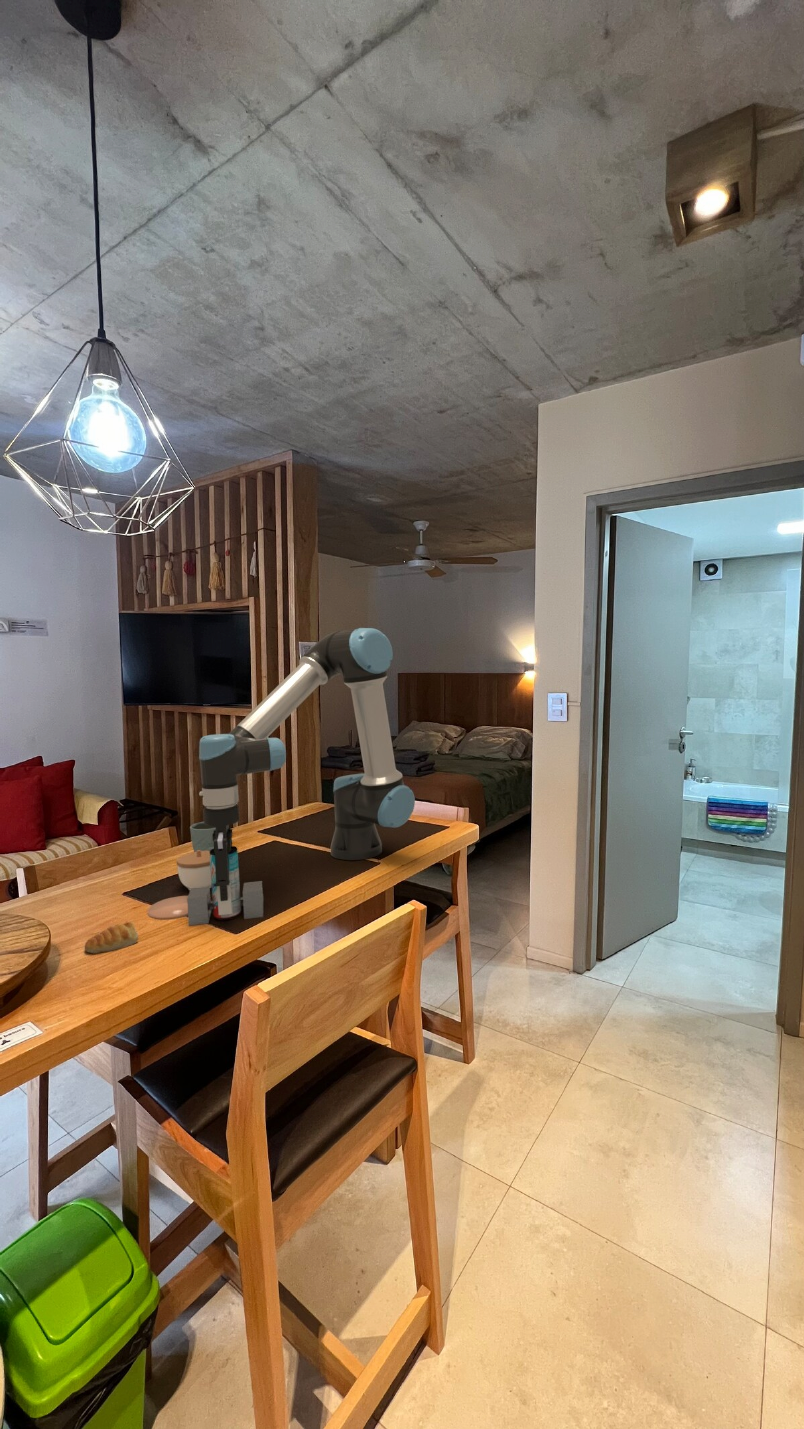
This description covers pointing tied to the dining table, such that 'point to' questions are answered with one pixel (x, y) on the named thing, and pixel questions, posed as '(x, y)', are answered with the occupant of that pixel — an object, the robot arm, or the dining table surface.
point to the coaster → (169, 908)
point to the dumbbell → (202, 905)
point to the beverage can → (233, 883)
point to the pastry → (112, 938)
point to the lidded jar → (195, 869)
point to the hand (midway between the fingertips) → (226, 906)
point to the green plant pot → (202, 836)
